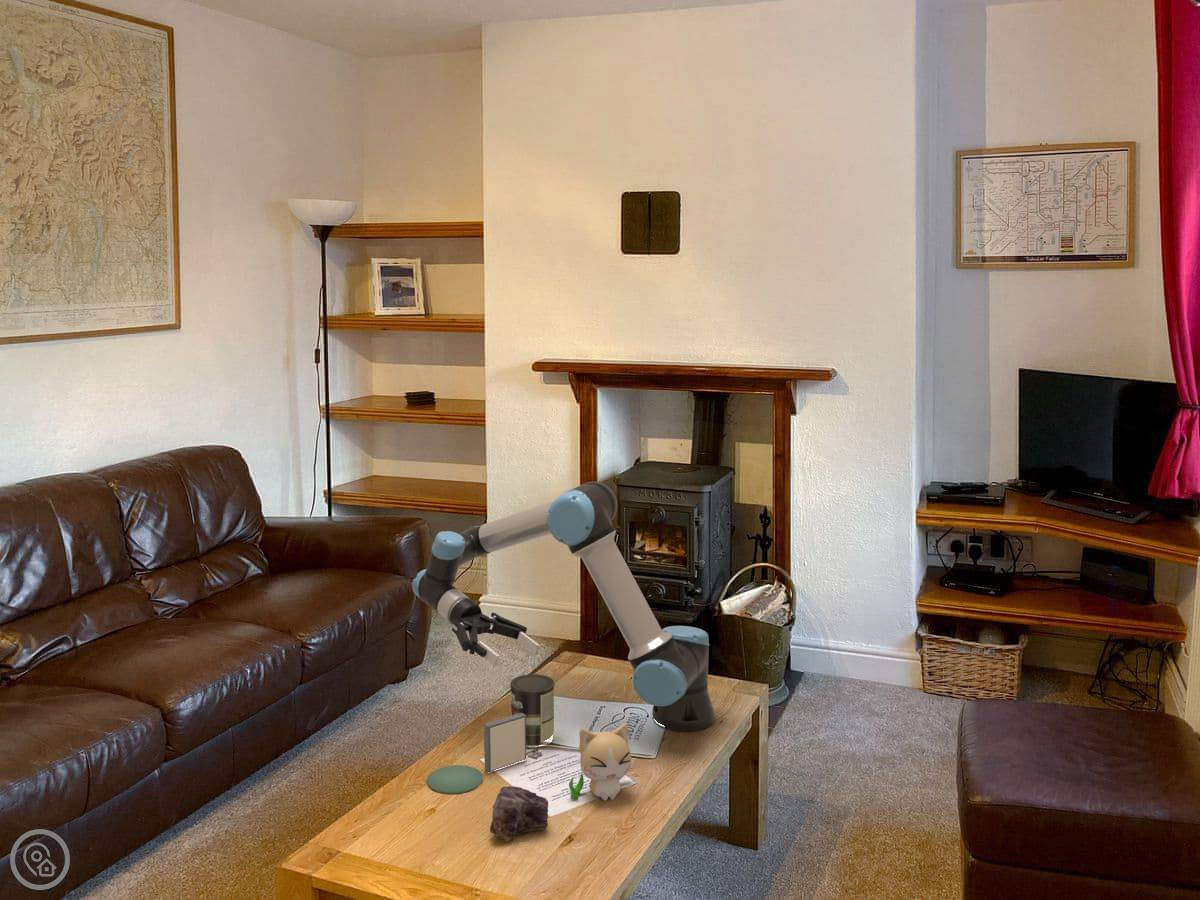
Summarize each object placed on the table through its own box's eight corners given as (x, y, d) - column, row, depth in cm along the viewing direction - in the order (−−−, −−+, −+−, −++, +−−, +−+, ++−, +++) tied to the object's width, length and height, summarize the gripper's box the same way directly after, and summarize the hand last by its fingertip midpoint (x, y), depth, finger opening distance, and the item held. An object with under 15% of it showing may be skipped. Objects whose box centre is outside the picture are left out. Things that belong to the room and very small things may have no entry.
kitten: (575, 810, 230) (575, 742, 228) (563, 787, 240) (563, 722, 237) (644, 800, 235) (644, 733, 232) (629, 778, 244) (630, 714, 241)
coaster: (494, 778, 244) (494, 775, 244) (455, 799, 234) (455, 797, 234) (454, 762, 251) (454, 760, 251) (415, 782, 241) (415, 780, 241)
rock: (549, 842, 221) (532, 817, 230) (556, 802, 219) (539, 778, 228) (493, 845, 216) (478, 819, 225) (499, 804, 215) (484, 780, 224)
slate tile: (484, 770, 247) (484, 724, 245) (522, 758, 253) (521, 712, 251) (489, 773, 246) (488, 727, 244) (526, 761, 252) (526, 715, 250)
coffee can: (520, 751, 256) (519, 694, 254) (504, 733, 265) (504, 678, 263) (561, 743, 261) (561, 686, 258) (544, 726, 270) (544, 671, 267)
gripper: (492, 616, 285) (549, 659, 273) (417, 632, 266) (474, 679, 254) (500, 590, 283) (557, 633, 271) (425, 605, 264) (483, 651, 252)
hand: (517, 655), depth 262 cm, fingers open, 13 cm apart
